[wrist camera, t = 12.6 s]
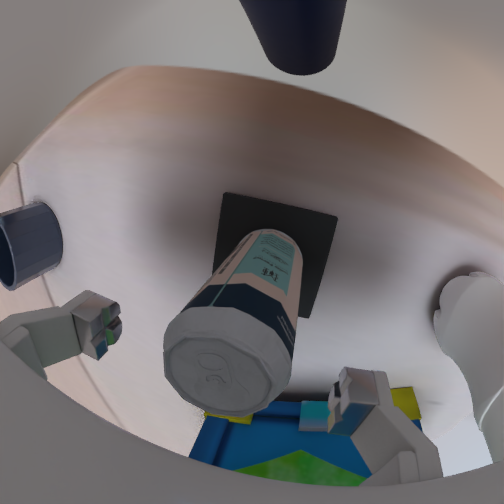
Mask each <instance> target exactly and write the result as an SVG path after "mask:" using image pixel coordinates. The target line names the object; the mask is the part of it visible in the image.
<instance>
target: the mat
mask: <svg viewBox="0 0 504 504" xmlns="http://www.w3.org/2000/svg"><path fill="white" fill-rule="evenodd" d="M337 221H338V218H337V217H336V216H332V215H328V214H324V213H320V212H316V211H312V210H308V209H303V208H299V207H295V206H290V205H286V204H281V203H277V202H272V201H267V200H263V199H258V198H253V197H248V196H243V195H238V194H233V193H227V192H226V193H224V194H223V199H222V206H221V213H220V219H219V226H218V233H217V241H216V248H215V255H214V263H213V271H212V275H213V274H214V272H215V271H216V270H217V269H218V268H219V267H220V265H221V264H222V263H223V262H224V261H225V260H226V258H227V257H228V256H229V255H230V254H231V253H232V252H233V250H234V249H235V248H236V247H237V246H238V244H239V243H240V241H241V240H242V239H243V238H244V237H245V236H246V235H248V234H249V233H251V232H253V231H256V230H261V229H274V230H277V231H281V232H283V233H285V234H286V235H288V236H289V237H291V238H292V239H293V240H294V241H295V243H296V244H297V246H298V247H299V249H300V252H301V254H302V259H303V267H302V276H301V287H300V298H299V308H298V316H299V317H303V318H308V319H309V317H310V314H311V311H312V308H313V305H314V301H315V298H316V295H317V292H318V289H319V285H320V282H321V279H322V275H323V272H324V269H325V265H326V262H327V258H328V255H329V251H330V247H331V244H332V240H333V236H334V232H335V229H336V225H337Z"/></svg>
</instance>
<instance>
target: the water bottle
mask: <svg viewBox="0 0 504 504" xmlns="http://www.w3.org/2000/svg"><path fill="white" fill-rule="evenodd" d="M433 320H434V330H435V334H436V338H437V340H438V343H439V345H440V347H441V349H442V351H443V352H444V353H445V354H446V355H447V356H449V357H450V358H451V359H453V360H454V362H455V363H456V364H457V365H458V367H459V368H460V370H461V371H462V373H463V375H464V377H465V379H466V381H467V383H468V386H469V390H470V393H471V397H472V403H473V411H474V417H475V420H476V422H477V425H478V427H479V430H480V431H481V432H483V435H484V437H485V440H486V443H487V446H488V449H489V451H490V454H491V457H492V460H493V463H496V462H498V461H501V460H504V285H503V284H502V283H501V282H500V281H499V280H498V279H496V278H495V277H493V276H492V275H489V274H487V273H484V272H479V271H477V272H471V273H470V275H469V276H458V277H456V278H454V279H452V280H450V281H449V282H448V283H447V284H446V285H445V287H444V288H443V290H442V293H441V294H440V309H439V310H436V311H435V314H434V318H433Z"/></svg>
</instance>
